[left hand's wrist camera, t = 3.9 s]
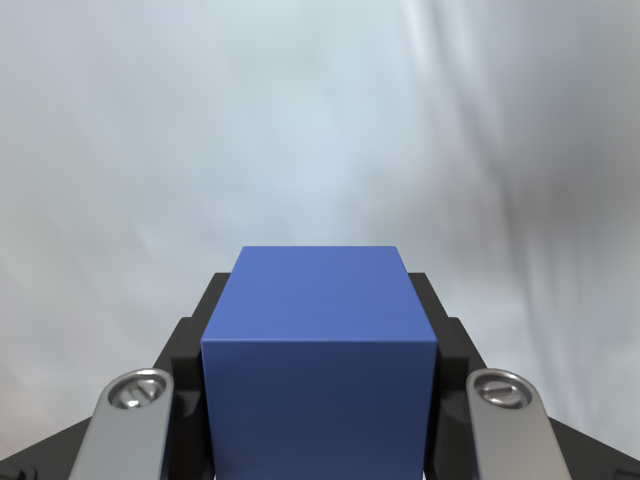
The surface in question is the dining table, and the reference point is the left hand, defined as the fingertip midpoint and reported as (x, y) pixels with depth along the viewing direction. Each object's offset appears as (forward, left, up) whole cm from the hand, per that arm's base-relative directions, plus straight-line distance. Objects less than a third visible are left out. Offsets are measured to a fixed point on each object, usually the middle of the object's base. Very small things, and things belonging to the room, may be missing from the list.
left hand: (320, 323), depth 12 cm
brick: (0, 0, 0) cm, 0 cm away
